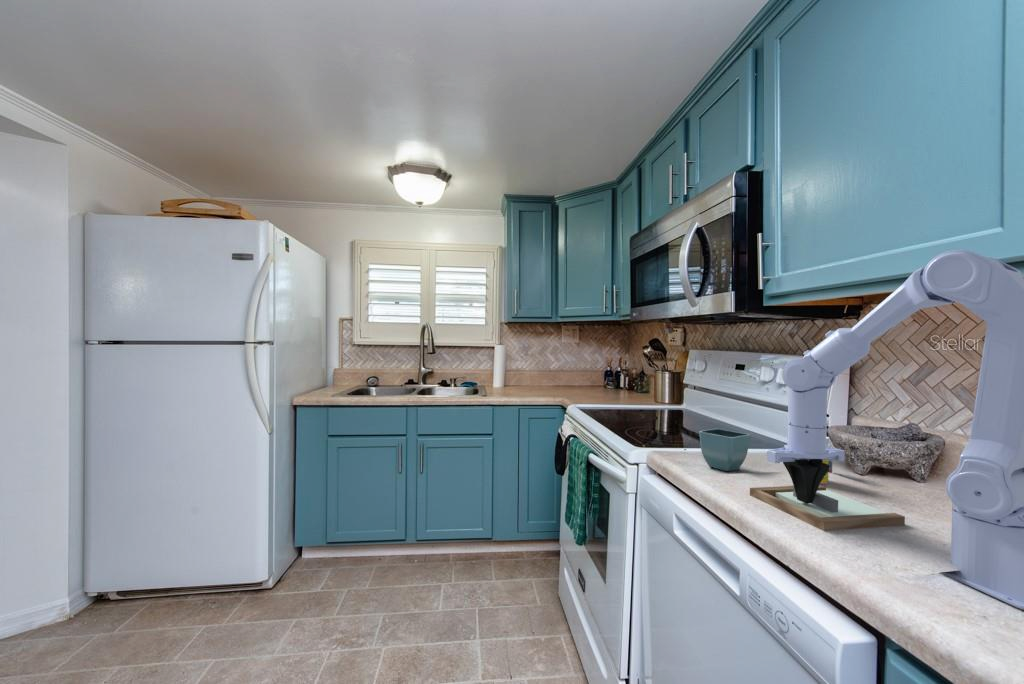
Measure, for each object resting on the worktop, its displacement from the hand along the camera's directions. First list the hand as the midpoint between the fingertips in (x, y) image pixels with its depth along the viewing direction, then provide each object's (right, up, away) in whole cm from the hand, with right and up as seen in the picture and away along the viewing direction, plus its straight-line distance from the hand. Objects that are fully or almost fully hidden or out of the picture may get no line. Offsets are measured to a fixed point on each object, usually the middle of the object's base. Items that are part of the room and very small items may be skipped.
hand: (804, 501), depth 77 cm
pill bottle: (+23, -4, +29) cm, 37 cm away
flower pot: (+1, -3, +31) cm, 31 cm away
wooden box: (+3, -3, +1) cm, 5 cm away
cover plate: (+5, -2, +1) cm, 6 cm away
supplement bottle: (+13, -4, +18) cm, 23 cm away
